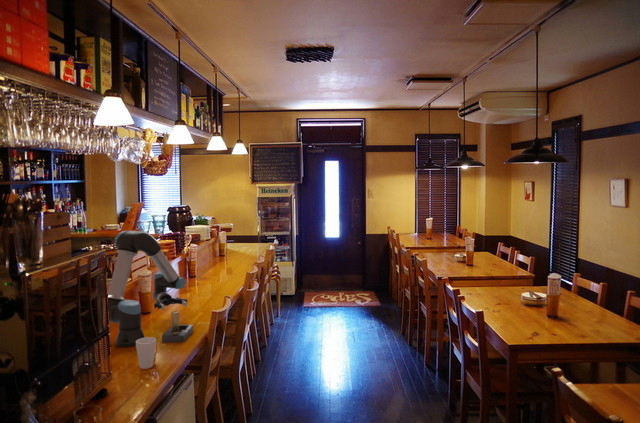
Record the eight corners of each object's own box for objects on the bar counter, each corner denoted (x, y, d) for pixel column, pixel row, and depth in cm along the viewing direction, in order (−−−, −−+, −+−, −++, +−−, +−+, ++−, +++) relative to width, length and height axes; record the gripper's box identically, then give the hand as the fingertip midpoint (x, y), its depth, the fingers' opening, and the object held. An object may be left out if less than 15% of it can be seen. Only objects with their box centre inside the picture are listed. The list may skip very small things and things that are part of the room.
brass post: (167, 337, 257) (167, 312, 256) (177, 335, 261) (177, 310, 261) (173, 340, 252) (172, 314, 252) (183, 337, 257) (183, 312, 256)
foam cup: (156, 368, 217) (156, 342, 216) (136, 371, 213) (135, 345, 213) (156, 361, 226) (155, 336, 225) (136, 363, 222) (135, 338, 221)
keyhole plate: (172, 330, 272) (172, 324, 271) (193, 330, 272) (193, 324, 272) (162, 342, 252) (161, 335, 252) (183, 342, 252) (183, 335, 252)
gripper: (183, 302, 293) (195, 309, 276) (144, 307, 278) (154, 315, 261) (183, 290, 292) (195, 297, 275) (144, 295, 278) (153, 303, 261)
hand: (175, 306), depth 268 cm, fingers open, 13 cm apart
